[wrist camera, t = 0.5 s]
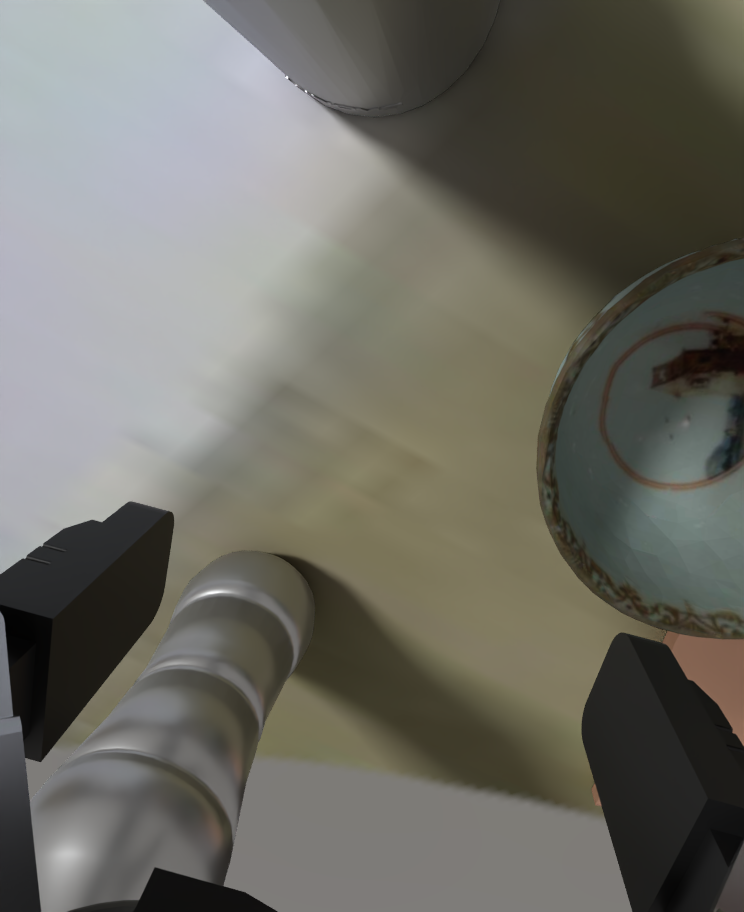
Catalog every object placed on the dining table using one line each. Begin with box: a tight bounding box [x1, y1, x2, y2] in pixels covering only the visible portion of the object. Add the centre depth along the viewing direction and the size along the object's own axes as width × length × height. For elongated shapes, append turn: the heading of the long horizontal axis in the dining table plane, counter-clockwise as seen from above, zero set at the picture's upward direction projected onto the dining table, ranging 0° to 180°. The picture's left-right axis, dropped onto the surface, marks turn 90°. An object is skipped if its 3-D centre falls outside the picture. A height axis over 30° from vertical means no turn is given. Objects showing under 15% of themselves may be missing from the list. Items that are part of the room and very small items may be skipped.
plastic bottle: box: [30, 551, 315, 912], centre depth 23 cm, size 6×7×20 cm
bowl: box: [536, 238, 744, 639], centre depth 23 cm, size 14×13×8 cm
